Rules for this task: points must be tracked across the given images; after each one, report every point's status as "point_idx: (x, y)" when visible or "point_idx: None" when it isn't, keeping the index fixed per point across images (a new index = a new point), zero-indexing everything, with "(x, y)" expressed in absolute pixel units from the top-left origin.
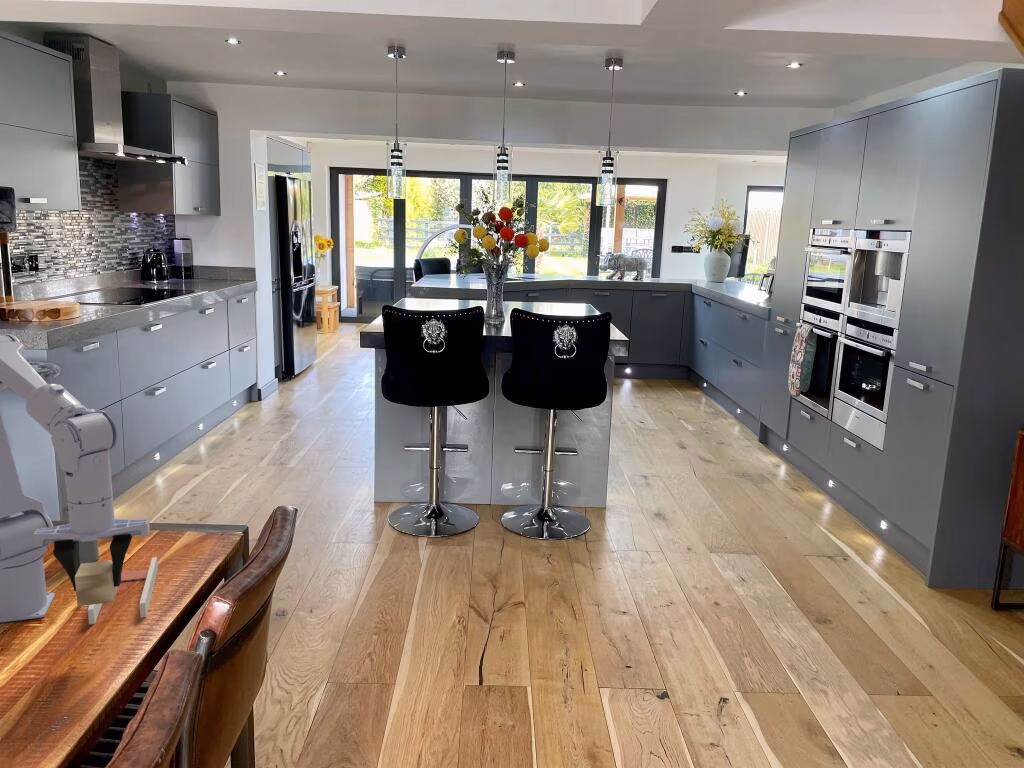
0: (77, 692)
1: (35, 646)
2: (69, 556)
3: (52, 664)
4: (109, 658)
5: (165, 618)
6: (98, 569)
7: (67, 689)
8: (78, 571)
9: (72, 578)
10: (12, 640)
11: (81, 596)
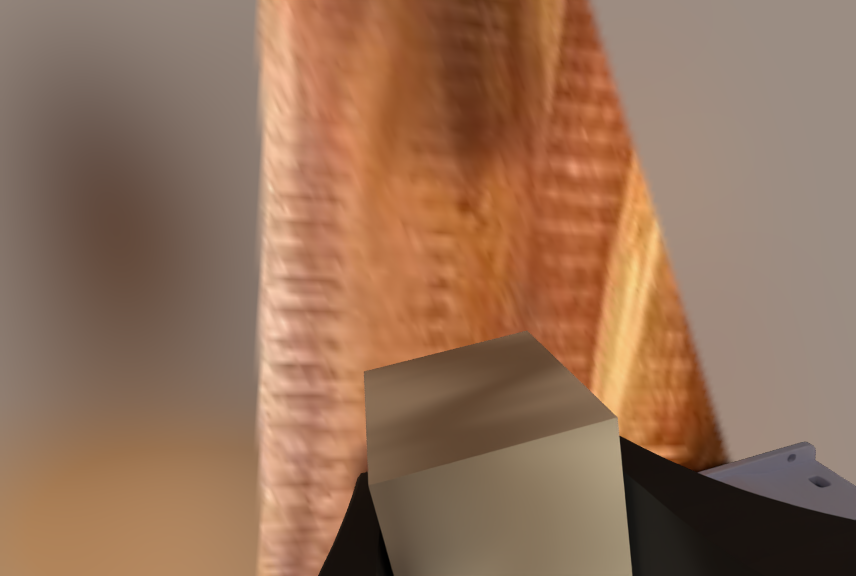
0: (393, 42)
1: (621, 336)
2: (790, 569)
3: (538, 231)
4: (371, 256)
5: (285, 494)
6: (486, 535)
7: (435, 67)
8: (617, 499)
9: (629, 450)
10: (692, 370)
11: (524, 358)
